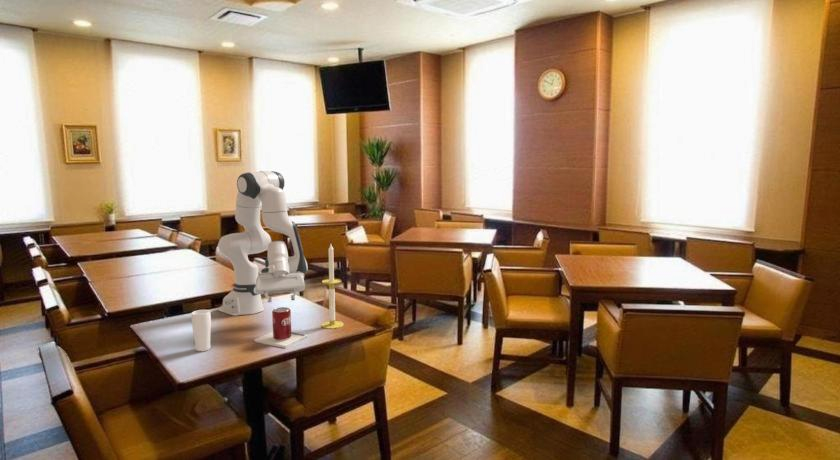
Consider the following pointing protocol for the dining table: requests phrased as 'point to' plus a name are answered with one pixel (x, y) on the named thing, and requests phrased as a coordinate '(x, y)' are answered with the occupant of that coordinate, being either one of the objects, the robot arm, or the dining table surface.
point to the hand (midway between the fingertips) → (281, 300)
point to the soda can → (281, 323)
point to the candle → (331, 294)
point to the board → (287, 343)
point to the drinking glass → (201, 329)
